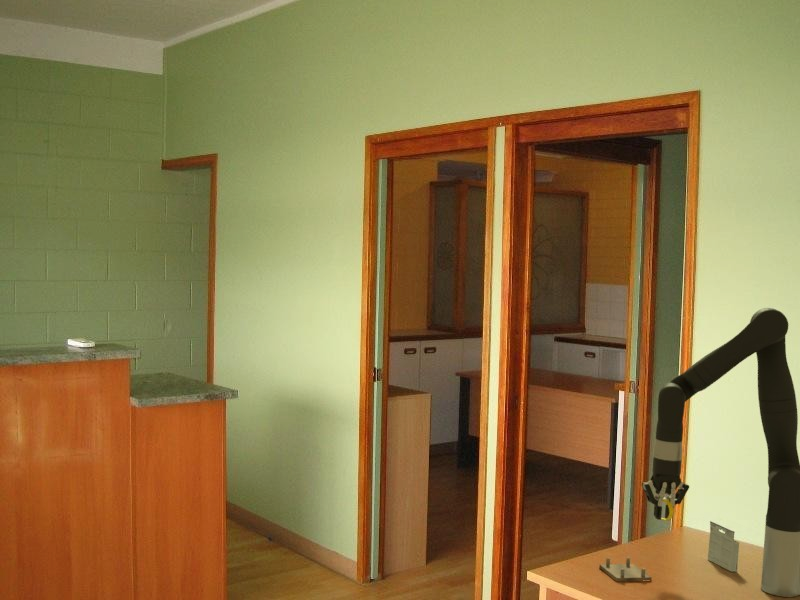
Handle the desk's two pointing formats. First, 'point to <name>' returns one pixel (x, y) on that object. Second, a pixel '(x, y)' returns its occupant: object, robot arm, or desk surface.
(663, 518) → the watch
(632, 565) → the pin plate
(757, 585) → the desk surface
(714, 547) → the ink box
